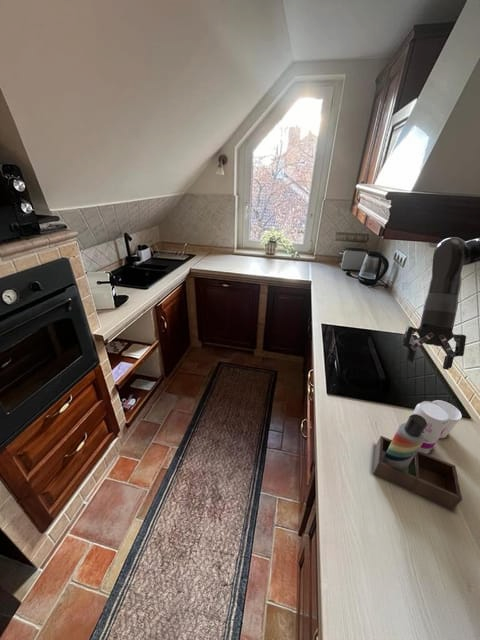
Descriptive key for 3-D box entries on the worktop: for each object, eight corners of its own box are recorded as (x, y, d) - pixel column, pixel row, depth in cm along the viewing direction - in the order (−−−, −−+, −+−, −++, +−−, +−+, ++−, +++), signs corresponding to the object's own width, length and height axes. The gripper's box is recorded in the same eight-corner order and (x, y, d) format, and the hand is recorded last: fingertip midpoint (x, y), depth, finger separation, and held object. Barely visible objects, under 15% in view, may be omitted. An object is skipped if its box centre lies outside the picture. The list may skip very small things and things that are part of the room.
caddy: (446, 477, 71) (455, 465, 69) (451, 511, 64) (462, 499, 61) (375, 447, 79) (380, 435, 76) (372, 474, 72) (378, 462, 69)
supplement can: (429, 439, 82) (449, 406, 75) (431, 460, 76) (453, 427, 68) (401, 427, 86) (417, 395, 78) (400, 446, 79) (418, 414, 72)
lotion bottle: (387, 452, 76) (411, 406, 67) (407, 467, 73) (435, 420, 63) (378, 464, 73) (402, 417, 63) (399, 480, 69) (427, 433, 60)
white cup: (443, 445, 80) (457, 424, 75) (416, 428, 85) (427, 408, 80) (451, 432, 85) (464, 411, 80) (424, 416, 90) (436, 396, 85)
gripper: (414, 306, 72) (402, 362, 73) (477, 314, 66) (463, 374, 67) (407, 307, 78) (397, 358, 80) (464, 314, 73) (452, 369, 74)
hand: (427, 365), depth 74 cm, fingers open, 8 cm apart
